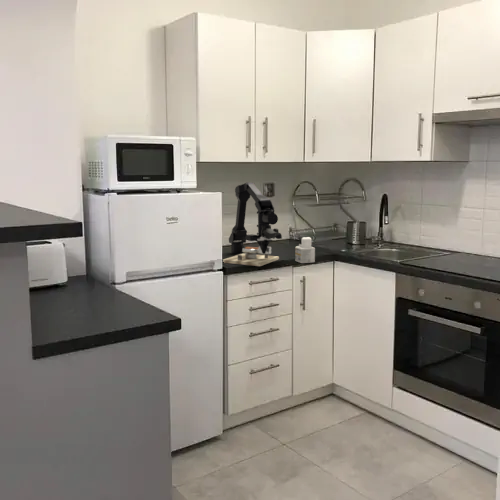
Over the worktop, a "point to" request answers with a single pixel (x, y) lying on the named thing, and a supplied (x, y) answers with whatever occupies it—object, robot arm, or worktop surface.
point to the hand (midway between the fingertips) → (263, 253)
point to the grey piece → (256, 250)
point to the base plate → (251, 259)
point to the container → (305, 251)
